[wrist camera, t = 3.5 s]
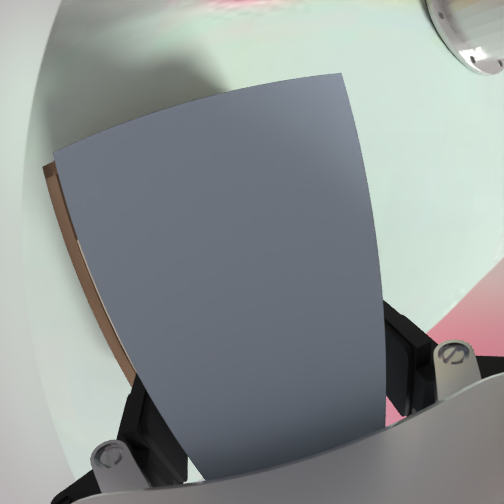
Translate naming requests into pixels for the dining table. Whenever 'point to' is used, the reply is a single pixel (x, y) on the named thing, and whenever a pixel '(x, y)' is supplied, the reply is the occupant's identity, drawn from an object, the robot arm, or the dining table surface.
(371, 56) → the dining table surface
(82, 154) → the panel
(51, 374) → the dining table surface
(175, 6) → the dining table surface
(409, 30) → the dining table surface
